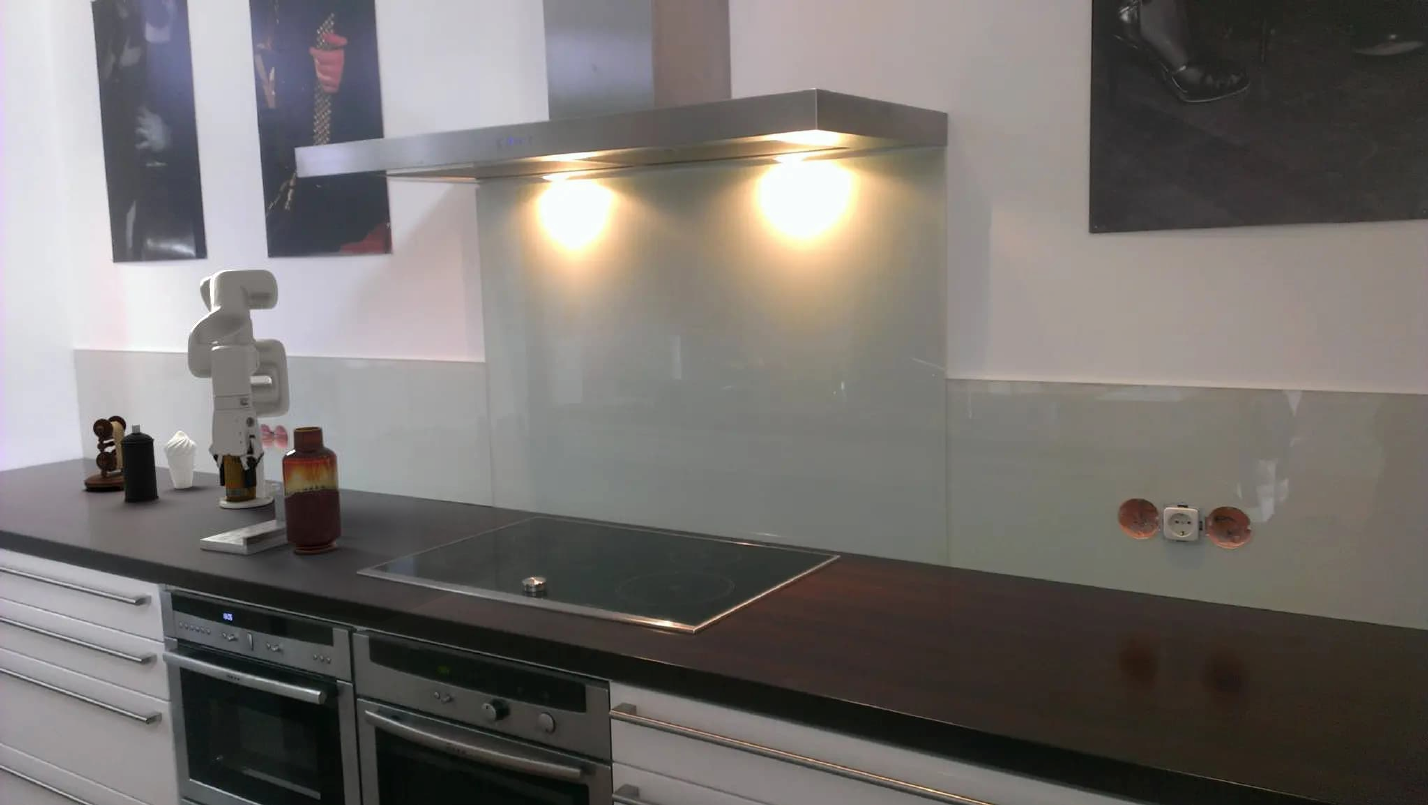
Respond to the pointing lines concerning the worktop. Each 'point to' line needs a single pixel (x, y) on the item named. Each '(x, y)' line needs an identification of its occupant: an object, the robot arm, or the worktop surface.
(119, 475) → the brown wooden figurine
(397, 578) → the worktop surface
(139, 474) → the aerosol can
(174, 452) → the soft serve ice cream cone
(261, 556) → the worktop surface
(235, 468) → the condiment
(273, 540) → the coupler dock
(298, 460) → the vase
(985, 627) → the worktop surface
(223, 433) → the robot arm
